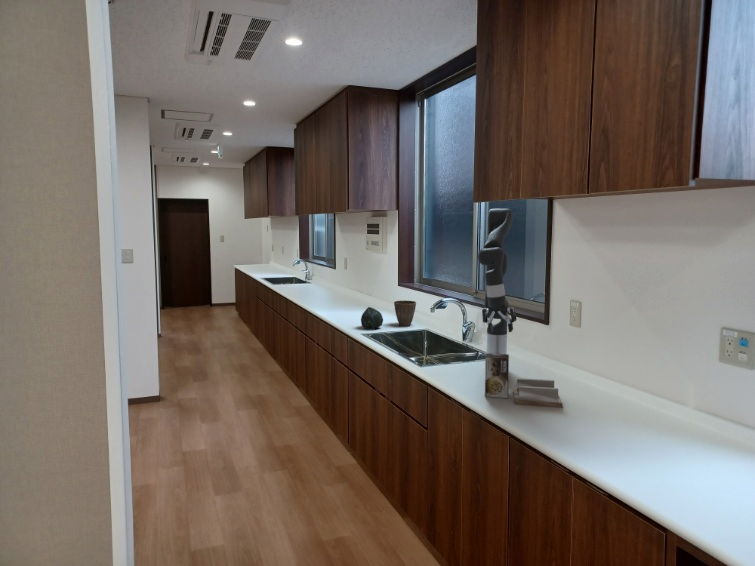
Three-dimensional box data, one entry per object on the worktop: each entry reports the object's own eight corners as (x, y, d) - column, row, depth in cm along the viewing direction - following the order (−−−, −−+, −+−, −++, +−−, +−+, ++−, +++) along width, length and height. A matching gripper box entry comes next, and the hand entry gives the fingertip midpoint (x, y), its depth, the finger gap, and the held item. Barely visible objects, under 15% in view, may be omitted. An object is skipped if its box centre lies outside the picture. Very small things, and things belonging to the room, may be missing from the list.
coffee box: (508, 393, 209) (509, 354, 207) (508, 398, 203) (509, 358, 201) (485, 391, 212) (486, 352, 210) (484, 396, 205) (485, 356, 204)
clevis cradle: (512, 392, 210) (513, 377, 209) (556, 395, 207) (557, 379, 206) (515, 404, 196) (515, 387, 196) (562, 407, 193) (563, 390, 192)
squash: (387, 318, 349) (372, 301, 348) (386, 323, 334) (370, 305, 333) (372, 331, 351) (357, 315, 350) (369, 337, 336) (354, 320, 336)
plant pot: (419, 326, 347) (419, 303, 345) (398, 328, 342) (398, 304, 341) (411, 322, 361) (411, 300, 359) (390, 324, 356) (390, 301, 355)
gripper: (515, 292, 220) (520, 329, 221) (484, 293, 228) (488, 329, 230) (508, 295, 214) (513, 334, 215) (477, 297, 222) (481, 334, 224)
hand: (500, 331), depth 223 cm, fingers open, 8 cm apart
